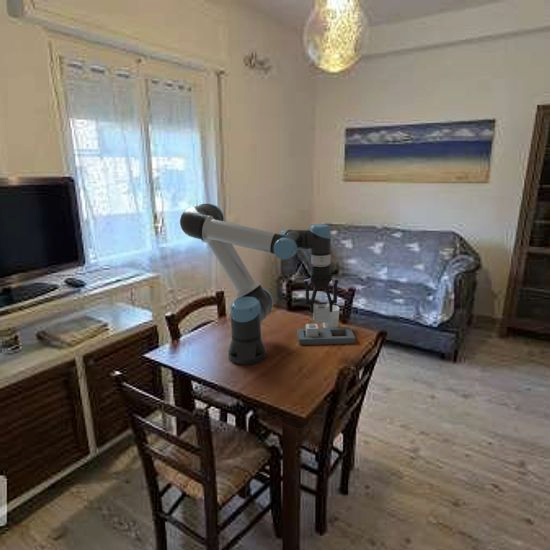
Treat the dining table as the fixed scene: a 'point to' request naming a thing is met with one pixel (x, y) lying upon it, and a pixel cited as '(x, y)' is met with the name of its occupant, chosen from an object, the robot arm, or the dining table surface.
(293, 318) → the dining table surface
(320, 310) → the block
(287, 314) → the dining table surface
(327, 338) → the grey socket block
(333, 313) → the white cup
